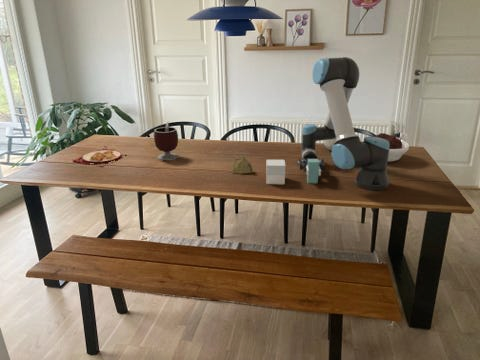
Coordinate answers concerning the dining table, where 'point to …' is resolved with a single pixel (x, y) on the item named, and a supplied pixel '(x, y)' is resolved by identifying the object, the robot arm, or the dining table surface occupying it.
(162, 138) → the mate gourd
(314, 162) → the teal post
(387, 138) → the white shallow bowl
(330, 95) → the robot arm
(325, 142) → the decorative shell
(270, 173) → the tower top
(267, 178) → the tower base
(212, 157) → the dining table surface
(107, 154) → the plate with food
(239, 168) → the rock
